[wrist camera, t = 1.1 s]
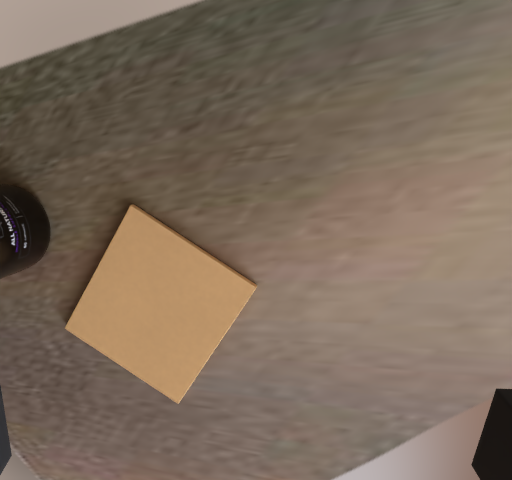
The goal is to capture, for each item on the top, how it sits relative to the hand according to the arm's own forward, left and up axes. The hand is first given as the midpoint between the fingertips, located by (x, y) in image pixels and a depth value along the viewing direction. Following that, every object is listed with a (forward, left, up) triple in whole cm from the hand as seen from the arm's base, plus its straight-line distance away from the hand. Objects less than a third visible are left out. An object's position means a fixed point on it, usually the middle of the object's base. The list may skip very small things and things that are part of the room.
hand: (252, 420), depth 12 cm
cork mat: (+10, -7, -20) cm, 24 cm away
